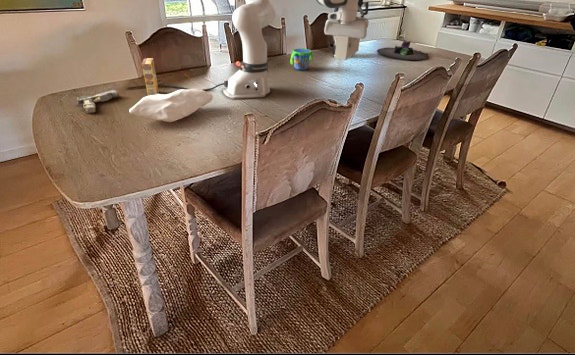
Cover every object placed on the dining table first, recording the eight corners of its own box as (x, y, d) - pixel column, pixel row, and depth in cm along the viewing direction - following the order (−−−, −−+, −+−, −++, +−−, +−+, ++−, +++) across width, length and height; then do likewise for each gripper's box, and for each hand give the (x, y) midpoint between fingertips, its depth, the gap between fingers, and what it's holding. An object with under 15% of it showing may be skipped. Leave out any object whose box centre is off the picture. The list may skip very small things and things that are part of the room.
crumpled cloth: (117, 110, 146) (113, 90, 140) (195, 92, 166) (194, 73, 160) (143, 139, 134) (140, 118, 128) (223, 116, 154) (224, 96, 148)
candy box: (157, 97, 164) (152, 63, 155) (147, 98, 163) (141, 63, 155) (158, 91, 171) (153, 57, 163) (149, 91, 170) (143, 58, 162)
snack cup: (306, 64, 218) (307, 47, 212) (317, 69, 211) (318, 51, 205) (284, 68, 210) (285, 49, 205) (295, 72, 203) (295, 54, 198)
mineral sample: (439, 56, 245) (442, 42, 241) (405, 62, 228) (407, 47, 223) (399, 48, 270) (401, 35, 266) (365, 53, 253) (367, 39, 248)
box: (345, 60, 177) (348, 37, 172) (334, 58, 179) (336, 35, 174) (358, 50, 195) (361, 29, 189) (348, 49, 196) (350, 28, 191)
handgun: (128, 97, 156) (111, 87, 164) (86, 107, 144) (70, 97, 152) (129, 103, 157) (113, 94, 165) (88, 114, 146) (72, 103, 154)
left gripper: (370, 17, 170) (365, 47, 178) (328, 12, 176) (325, 42, 184) (367, 19, 165) (363, 50, 173) (324, 14, 171) (322, 44, 179)
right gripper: (372, -12, 184) (367, 22, 193) (344, -14, 187) (340, 20, 196) (370, -11, 178) (365, 25, 187) (341, -13, 181) (337, 22, 190)
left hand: (343, 46), depth 178 cm, fingers closed on box, 6 cm apart
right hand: (352, 22), depth 191 cm, fingers open, 8 cm apart
